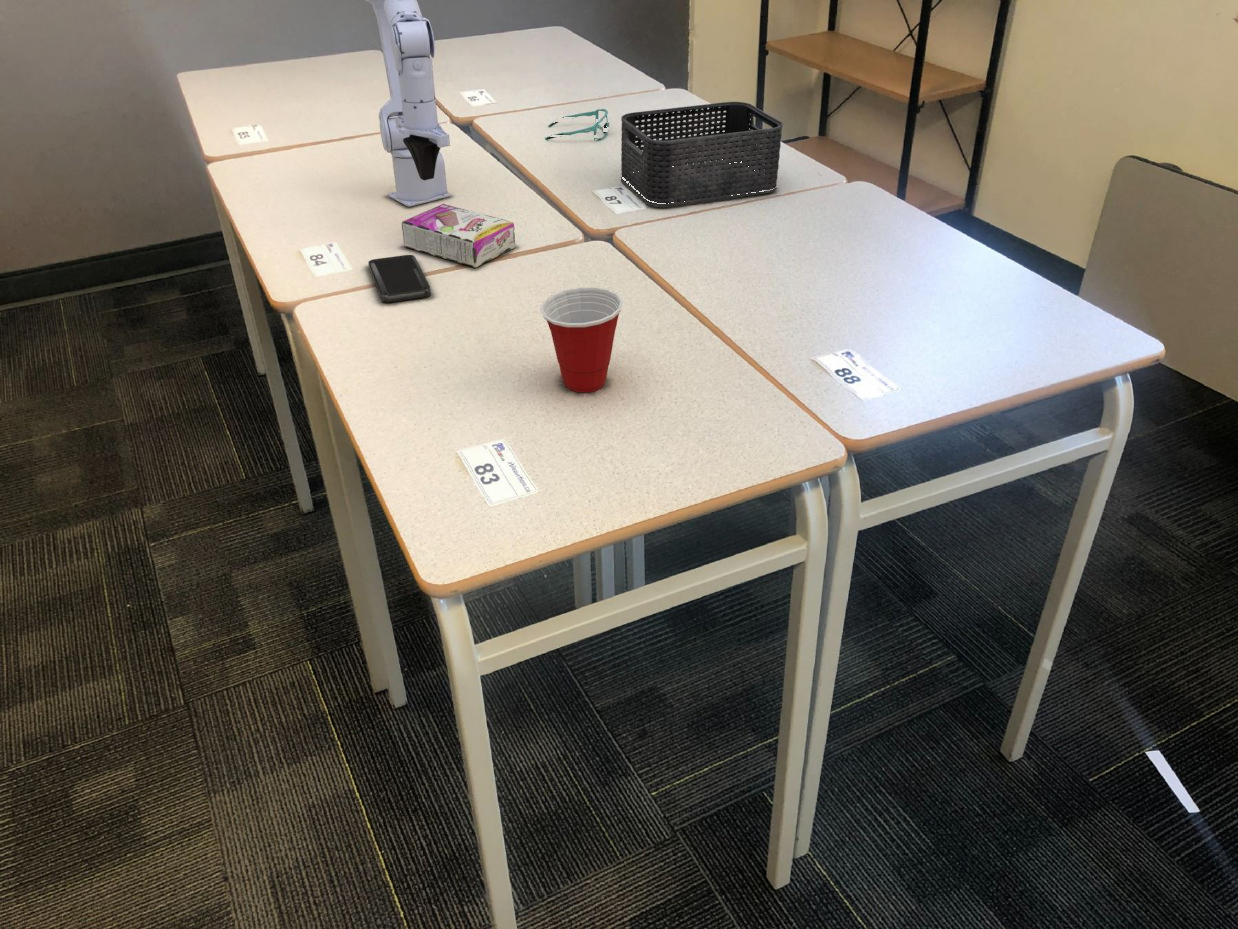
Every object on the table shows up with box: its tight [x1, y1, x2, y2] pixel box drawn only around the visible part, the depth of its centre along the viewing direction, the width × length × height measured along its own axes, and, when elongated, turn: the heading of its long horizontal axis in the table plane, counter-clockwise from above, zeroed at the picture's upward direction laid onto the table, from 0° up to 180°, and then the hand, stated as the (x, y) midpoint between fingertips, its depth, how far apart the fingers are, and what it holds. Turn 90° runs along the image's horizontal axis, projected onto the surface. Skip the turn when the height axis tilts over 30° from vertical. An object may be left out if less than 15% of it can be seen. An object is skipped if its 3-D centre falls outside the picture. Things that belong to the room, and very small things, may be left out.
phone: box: [367, 254, 432, 304], centre depth 155 cm, size 8×1×15 cm
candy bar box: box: [401, 203, 516, 269], centre depth 165 cm, size 11×5×16 cm
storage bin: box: [620, 101, 784, 209], centre depth 190 cm, size 29×19×13 cm
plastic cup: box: [539, 286, 624, 394], centre depth 126 cm, size 11×11×12 cm
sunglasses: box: [544, 108, 610, 141], centre depth 221 cm, size 14×15×5 cm
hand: (427, 178), depth 168 cm, fingers closed
